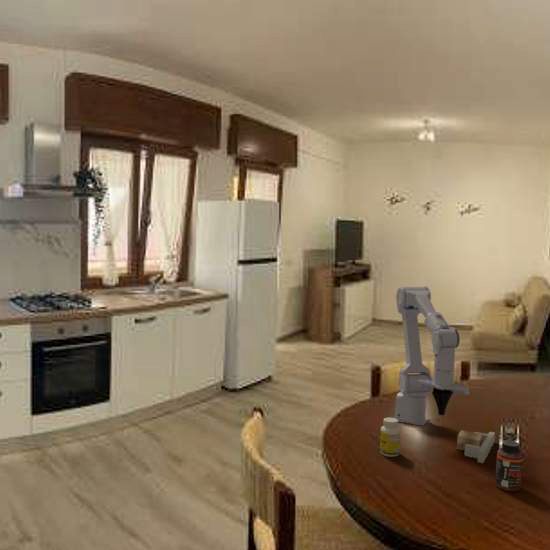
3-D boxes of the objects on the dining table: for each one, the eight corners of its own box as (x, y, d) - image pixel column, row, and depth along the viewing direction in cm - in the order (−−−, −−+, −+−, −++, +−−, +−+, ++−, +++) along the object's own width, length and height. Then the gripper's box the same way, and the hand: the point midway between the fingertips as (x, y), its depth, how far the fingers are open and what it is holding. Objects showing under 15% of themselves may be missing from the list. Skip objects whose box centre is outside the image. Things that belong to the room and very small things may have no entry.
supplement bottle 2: (509, 494, 144) (511, 449, 143) (489, 484, 149) (492, 440, 148) (526, 489, 147) (529, 445, 145) (506, 480, 152) (509, 436, 151)
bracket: (462, 458, 165) (462, 448, 164) (475, 438, 180) (475, 429, 180) (483, 463, 162) (483, 452, 162) (494, 442, 178) (494, 432, 177)
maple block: (456, 450, 172) (457, 436, 171) (460, 443, 177) (461, 430, 177) (478, 454, 169) (479, 440, 169) (481, 447, 174) (482, 433, 174)
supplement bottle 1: (377, 449, 170) (378, 416, 169) (396, 449, 171) (397, 416, 170) (382, 457, 165) (384, 423, 164) (401, 457, 165) (403, 422, 164)
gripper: (415, 368, 175) (413, 413, 177) (466, 375, 168) (464, 422, 169) (422, 363, 181) (420, 407, 183) (471, 370, 174) (469, 415, 176)
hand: (441, 414), depth 176 cm, fingers closed
